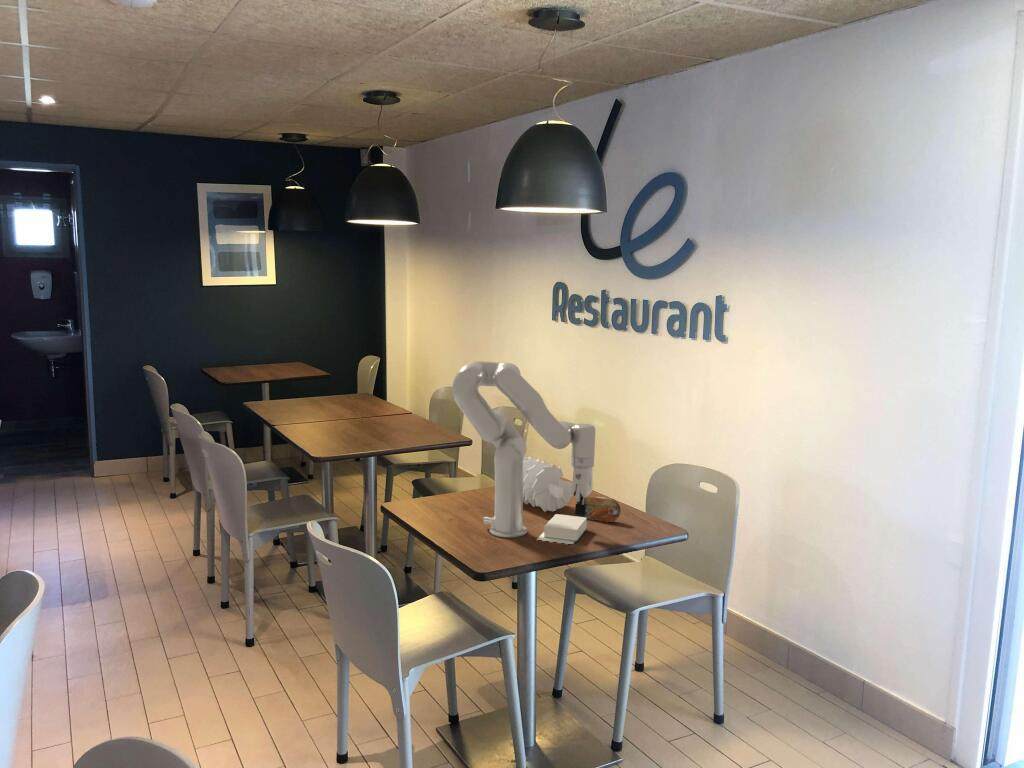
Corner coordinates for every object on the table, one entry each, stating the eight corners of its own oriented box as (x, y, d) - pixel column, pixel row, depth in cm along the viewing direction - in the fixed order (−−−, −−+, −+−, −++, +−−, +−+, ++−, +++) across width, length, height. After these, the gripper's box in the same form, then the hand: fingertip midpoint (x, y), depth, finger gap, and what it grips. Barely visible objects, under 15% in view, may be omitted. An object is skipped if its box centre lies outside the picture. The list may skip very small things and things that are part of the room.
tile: (576, 541, 264) (544, 537, 267) (586, 528, 277) (555, 525, 280) (576, 529, 263) (544, 525, 267) (586, 517, 276) (555, 513, 280)
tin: (578, 517, 291) (579, 495, 290) (581, 515, 293) (582, 493, 292) (618, 524, 284) (619, 501, 283) (621, 522, 287) (622, 499, 285)
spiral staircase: (548, 526, 293) (506, 506, 312) (581, 499, 301) (539, 481, 321) (533, 486, 285) (492, 467, 305) (568, 459, 294) (526, 443, 313)
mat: (536, 540, 266) (536, 539, 265) (552, 523, 283) (552, 522, 283) (572, 545, 262) (572, 543, 262) (585, 527, 280) (586, 526, 280)
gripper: (588, 467, 259) (585, 522, 261) (598, 457, 273) (596, 510, 275) (565, 465, 261) (563, 519, 264) (577, 455, 275) (575, 507, 278)
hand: (580, 514), depth 269 cm, fingers closed
